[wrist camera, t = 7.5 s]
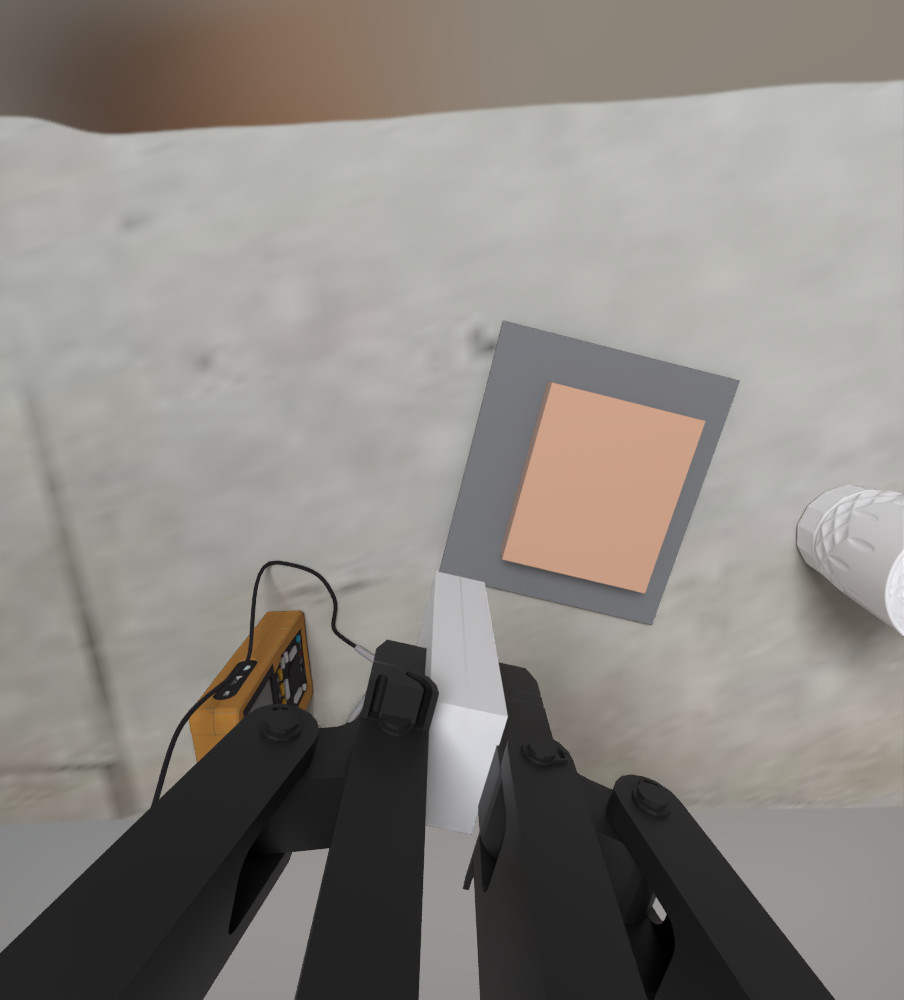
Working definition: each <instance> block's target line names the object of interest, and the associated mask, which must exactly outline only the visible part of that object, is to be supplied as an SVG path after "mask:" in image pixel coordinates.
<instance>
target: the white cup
mask: <svg viewBox="0 0 904 1000" xmlns="http://www.w3.org/2000/svg"><path fill="white" fill-rule="evenodd" d="M797 547H798V549H799V551H800V553H801V555H802V557H803V559H804V561H805V563H806V564H808V565H809V566H811V567H812V568H814V569H815V570H816V571H818V572H819V573H821V574H822V575H823V576H824V577H826V578H827V579H828V580H829V581H830V582H831V583H832V585H834V586H835V587H837V588H838V589H839V590H840V591H842V592H843V593H844V594H845V595H846V596H848V597H849V598H851V599H852V600H853V601H855V602H856V603H858V604H859V605H860V606H862V607H863V608H865V609H866V610H867V611H869V612H870V613H871V614H873V615H874V616H876V617H877V618H878V619H880V620H881V621H883V622H884V623H885V624H887V625H888V626H890V627H891V628H892V629H894V630H895V631H896V632H898V633H899V634H901V635H902V636H903V637H904V494H901V493H897V492H892V491H883V490H879V489H876V488H872V487H866V486H858V485H850V484H847V485H844V486H841V487H838V488H834V489H831V490H828V491H825V492H824V493H823V494H822V495H820V496H819V497H818V498H817V499H815V500H814V501H813V502H812V503H811V504H809V505H808V506H807V508H806V510H805V512H804V514H803V516H802V517H801V519H800V521H799V523H798V526H797Z"/></svg>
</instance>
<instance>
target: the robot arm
mask: <svg viewBox="0 0 904 1000" xmlns="http://www.w3.org/2000/svg"><path fill="white" fill-rule="evenodd" d="M540 695H541V694H540V691H539V687H538V684H537V681H536V680H535V679H534V678H533V676H532V675H531V674H530V673H529V672H528V671H527V669H526V668H521V667H517V666H512V665H508V664H503V663H499V662H498V657H497V651H496V645H495V639H494V633H493V628H492V622H491V616H490V610H489V604H488V598H487V593H486V587H485V582H481V581H477V580H472V579H468V578H464V577H459V576H455V575H450V574H446V573H442V572H437V571H436V572H435V575H434V579H433V583H432V587H431V591H430V595H429V599H428V603H427V607H426V611H425V614H424V618H423V622H422V626H421V630H420V634H419V638H418V642H417V646H414V645H409V644H405V643H400V642H395V641H391V640H386V641H385V642H384V643H383V644H381V645H380V646H379V647H378V648H377V649H376V653H375V657H374V661H373V666H372V670H371V674H370V678H369V682H368V687H367V691H366V695H365V699H364V703H363V708H362V711H361V713H360V715H359V716H358V717H357V718H356V719H355V720H353V721H351V722H350V723H348V724H345V725H342V726H338V727H330V728H318V724H317V721H316V720H315V719H314V718H313V716H312V715H311V714H310V713H308V712H307V711H305V710H303V709H301V708H299V707H295V706H291V705H287V704H270V705H266V706H262V707H258V708H256V709H255V710H253V711H252V712H250V713H249V714H247V715H246V716H245V717H244V718H243V719H242V720H241V721H240V722H239V723H238V724H237V725H236V726H235V727H234V728H233V729H232V730H231V731H230V732H229V733H227V734H226V735H225V736H224V737H223V738H222V739H221V740H220V741H219V742H218V743H217V744H216V745H215V746H214V747H213V748H212V749H211V750H210V751H209V752H208V753H207V754H206V755H205V756H204V757H203V758H202V759H201V760H200V761H199V762H197V763H196V764H195V765H194V766H193V767H192V768H191V769H190V770H189V771H188V772H187V773H186V774H185V775H184V776H183V777H182V778H181V779H180V780H179V781H178V782H177V783H176V784H175V785H174V786H173V787H172V788H171V789H170V790H169V791H167V792H166V793H165V794H164V795H163V796H162V797H161V798H160V799H159V800H158V801H157V802H156V803H155V804H154V805H153V806H152V807H151V808H150V809H149V810H148V811H147V812H146V813H145V814H144V815H143V816H142V817H141V818H140V819H139V820H137V821H136V823H134V824H133V825H132V826H131V827H130V828H129V829H128V830H127V831H126V832H125V833H124V834H123V835H122V836H121V837H120V838H119V839H118V840H117V841H116V842H115V843H114V844H113V845H112V846H111V847H110V848H109V849H108V850H106V851H105V853H103V854H102V855H101V856H100V857H99V858H98V859H97V860H96V861H95V862H94V863H93V864H92V865H91V866H90V867H89V868H88V869H87V870H86V871H85V872H84V873H83V874H82V875H81V876H80V877H79V878H78V879H76V880H75V881H74V882H73V883H72V884H71V885H70V886H69V887H68V888H67V889H66V890H65V891H64V892H63V893H62V894H61V895H60V896H59V897H58V898H57V899H56V900H55V901H54V902H53V903H52V904H51V905H50V906H49V907H48V908H46V909H45V910H44V911H43V912H42V914H40V915H39V916H38V917H37V918H36V919H35V920H34V921H33V922H32V923H31V924H30V925H29V926H28V927H27V928H26V929H25V930H24V931H23V932H22V933H21V934H20V935H19V936H18V937H17V938H15V939H14V940H13V941H12V942H11V943H10V944H9V945H8V946H7V947H6V948H5V949H4V950H3V951H2V952H1V953H0V1000H203V999H204V997H205V995H206V994H207V992H208V991H209V989H210V987H211V986H212V984H213V983H214V981H215V979H216V978H217V976H218V974H219V973H220V971H221V970H222V968H223V967H224V965H225V963H226V962H227V960H228V958H229V957H230V955H231V954H232V952H233V950H234V949H235V947H236V946H237V944H238V942H239V941H240V939H241V938H242V936H243V934H244V933H245V931H246V929H247V928H248V926H249V924H250V923H251V922H252V920H253V918H254V917H255V915H256V914H257V912H258V910H259V909H260V907H261V906H262V904H263V902H264V901H265V899H266V898H267V896H268V894H269V893H270V891H271V890H272V888H273V886H274V885H275V883H276V882H277V880H278V878H279V876H280V875H281V873H282V872H283V870H284V868H285V867H286V865H287V864H288V862H289V860H290V857H291V854H292V852H296V851H306V850H316V849H324V848H329V853H328V857H327V861H326V865H325V870H324V874H323V878H322V883H321V887H320V891H319V896H318V900H317V904H316V909H315V913H314V917H313V922H312V926H311V930H310V935H309V939H308V943H307V948H306V952H305V956H304V961H303V965H302V969H301V973H300V978H299V982H298V986H297V991H296V995H295V1000H418V998H419V973H420V948H421V922H422V896H423V871H424V844H425V826H430V827H435V828H440V829H445V830H451V831H455V832H461V833H466V834H472V831H473V828H474V825H475V822H476V818H477V815H478V813H479V827H480V832H479V835H478V838H477V842H476V845H475V848H474V851H473V854H472V858H471V861H470V864H469V867H468V870H467V874H466V877H465V881H464V886H463V889H466V890H469V887H470V884H471V881H472V878H474V887H475V905H476V926H477V946H478V964H479V983H480V1000H835V999H834V998H833V996H832V995H831V994H830V992H829V991H828V990H827V989H826V987H825V986H824V985H823V983H822V982H821V981H820V980H819V978H818V977H817V976H816V974H815V973H814V972H813V971H812V970H811V968H810V967H809V966H808V964H807V963H806V962H805V960H804V959H803V958H802V957H801V955H800V954H799V953H798V951H797V950H796V949H795V948H794V946H793V945H792V944H791V942H790V941H789V940H788V939H787V937H786V936H785V935H784V933H783V932H782V931H781V930H780V929H779V927H778V926H777V925H776V923H775V922H774V921H773V920H772V918H771V917H770V916H769V914H768V913H767V912H766V911H765V909H764V908H763V907H762V905H761V904H760V903H759V901H758V900H757V899H756V898H755V896H754V895H753V894H752V893H751V891H750V890H749V889H748V888H747V886H746V885H745V884H744V882H743V881H742V880H741V878H740V877H739V876H738V875H737V873H736V872H735V871H734V870H733V868H732V867H731V866H730V864H729V863H728V862H727V860H726V859H725V858H724V857H723V855H722V854H721V853H720V852H719V850H718V849H717V848H716V846H715V845H714V844H713V843H712V841H711V840H710V839H709V837H708V836H707V835H706V834H705V832H704V831H703V830H702V828H701V827H700V826H699V825H698V823H697V822H696V821H695V820H694V818H693V817H692V816H691V814H690V813H689V812H688V811H687V809H686V808H685V807H684V805H683V804H682V803H681V802H680V801H679V800H678V799H677V797H676V796H675V795H674V794H673V793H672V792H671V791H669V790H668V789H666V788H665V787H663V786H662V785H660V784H659V783H658V782H656V781H654V780H650V779H649V778H646V777H642V776H637V775H626V776H621V777H620V778H619V779H618V780H617V781H616V782H615V785H614V788H613V790H612V789H609V788H607V787H605V786H603V785H600V784H598V783H596V782H593V781H591V780H589V779H587V778H585V777H583V776H581V775H580V774H578V773H577V771H576V768H575V765H574V761H573V759H572V758H571V756H570V754H569V752H568V751H567V750H566V749H565V748H564V747H563V746H562V745H561V744H560V743H558V742H557V741H555V740H553V737H552V734H551V730H550V727H549V723H548V720H547V716H546V712H545V709H544V708H543V702H542V698H541V697H540ZM656 897H657V899H658V900H659V902H660V904H661V905H662V907H663V909H664V910H665V912H666V913H667V915H666V918H665V920H664V921H662V920H661V919H660V918H659V916H658V915H657V913H656V912H655V910H654V909H653V907H652V905H653V903H654V900H655V898H656Z"/></svg>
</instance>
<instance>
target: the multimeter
mask: <svg viewBox="0 0 904 1000" xmlns="http://www.w3.org/2000/svg"><path fill="white" fill-rule="evenodd" d="M273 564H280V565H286V566H291V567H295V568H299V569H302V570H305V571H308V572H310V573H312V574H314V575H315V576H317V577H318V578H319V579H320V580H321V581H322V582H323V583H324V585H325V586H326V588H327V589H328V591H329V593H330V595H331V597H332V599H333V604H334V611H333V617H332V624H331V626H332V630H333V632H334V633H335V634H336V635H337V636H338V637H339V638H340V639H342V640H343V641H344V642H346V643H347V644H349V645H350V646H352V647H353V648H354V649H355V650H356V651H357V652H358V653H359V654H361V655H362V656H364V657H365V658H367V659H368V660H370V661H371V662H373V661H374V657H375V656H374V655H373V654H371V653H370V652H368V651H367V650H365V649H364V648H362V647H360V646H358V645H355V644H354V643H352V642H350V641H349V640H348V639H346V638H345V637H344V636H342V635H341V634H340V633H339V632H338V631H337V630H336V628H335V618H336V612H337V602H336V598H335V595H334V593H333V591H332V589H331V588H330V586H329V584H328V583H327V581H326V580H325V579H324V578H323V577H322V576H321V575H320V574H319V573H317V572H316V571H314V570H312V569H310V568H307V567H305V566H301V565H298V564H294V563H289V562H283V561H270V562H268V563H266V564H265V565H264V566H262V568H261V570H260V572H259V573H258V576H257V579H256V582H255V586H254V592H253V598H252V608H251V621H250V635H249V636H248V637H247V638H246V640H245V641H244V642H243V643H242V645H241V646H240V647H239V648H238V650H237V651H236V652H235V653H234V655H233V656H232V657H231V659H230V660H229V661H228V663H227V664H226V665H225V666H224V668H223V669H222V670H221V672H220V673H219V674H218V676H217V677H216V678H215V679H214V681H213V682H212V683H211V685H210V686H209V687H208V689H207V690H206V691H205V692H204V694H203V695H202V696H201V698H200V699H199V700H198V702H197V703H196V704H195V705H194V706H193V707H192V708H191V709H190V710H189V711H188V713H187V714H186V715H185V716H184V718H183V719H182V720H181V722H180V724H179V725H178V727H177V729H176V731H175V733H174V735H173V737H172V739H171V742H170V745H169V748H168V750H167V753H166V756H165V760H164V763H163V766H162V770H161V773H160V777H159V780H158V784H157V788H156V791H155V795H154V798H153V802H152V805H151V807H152V806H153V805H154V804H155V803H156V802H157V801H158V800H159V798H160V794H161V790H162V787H163V783H164V779H165V776H166V772H167V768H168V765H169V761H170V758H171V755H172V751H173V749H174V746H175V743H176V741H177V738H178V736H179V734H180V732H181V730H182V728H183V727H184V725H185V723H186V722H187V721H188V719H189V724H190V731H191V734H192V738H193V744H194V749H195V755H196V760H197V762H199V761H200V760H201V759H202V758H203V757H204V756H205V755H206V754H207V753H208V752H209V751H210V750H211V749H212V748H213V747H214V746H215V745H216V744H217V743H218V742H219V741H220V740H221V739H222V738H223V737H224V736H225V735H226V734H227V733H229V732H230V731H231V730H232V729H233V728H234V727H235V726H236V725H237V724H238V723H239V722H240V721H241V720H242V719H243V718H244V717H245V716H246V715H247V714H249V713H250V712H252V711H253V710H255V709H256V708H258V707H262V706H266V705H270V704H287V705H291V706H295V707H299V708H301V709H303V710H306V708H307V706H308V703H309V701H310V699H311V697H312V693H313V688H312V680H311V675H310V667H309V658H308V650H307V642H306V634H305V626H304V624H305V621H304V615H303V613H302V612H301V611H277V612H267V613H266V614H265V615H264V617H263V618H262V619H261V621H260V622H259V623H258V624H257V626H256V627H255V628H254V620H255V606H256V596H257V589H258V584H259V581H260V577H261V575H262V573H263V571H264V570H265V568H267V567H268V566H269V565H273ZM364 699H365V695H364V696H363V699H362V700H361V701H360V703H359V704H358V706H357V707H356V708H355V710H354V711H353V712H352V714H351V715H350V717H349V719H348V722H347V723H346V724H348V723H350V722H351V721H353V720H355V719H356V717H357V716H358V714H359V713H360V712H361V710H362V708H363V703H364Z"/></svg>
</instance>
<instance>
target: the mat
mask: <svg viewBox="0 0 904 1000" xmlns="http://www.w3.org/2000/svg"><path fill="white" fill-rule="evenodd" d="M547 381H549V382H553V383H557V384H561V385H565V386H569V387H573V388H577V389H581V390H585V391H589V392H593V393H597V394H601V395H605V396H609V397H613V398H617V399H621V400H625V401H629V402H633V403H637V404H641V405H645V406H649V407H653V408H657V409H661V410H665V411H669V412H673V413H677V414H681V415H685V416H689V417H693V418H696V419H700V420H703V421H706V422H705V424H704V427H703V430H702V433H701V436H700V439H699V441H698V444H697V447H696V450H695V453H694V456H693V458H692V461H691V464H690V467H689V470H688V473H687V476H686V478H685V481H684V484H683V487H682V490H681V493H680V495H679V498H678V501H677V504H676V507H675V510H674V512H673V515H672V518H671V521H670V524H669V527H668V529H667V532H666V535H665V538H664V541H663V544H662V547H661V549H660V552H659V555H658V558H657V561H656V564H655V566H654V569H653V572H652V575H651V578H650V581H649V583H648V586H647V589H646V592H645V593H641V592H637V591H633V590H628V589H624V588H620V587H616V586H612V585H607V584H603V583H599V582H595V581H591V580H586V579H582V578H578V577H574V576H570V575H565V574H561V573H557V572H553V571H549V570H544V569H540V568H536V567H532V566H528V565H523V564H519V563H515V562H511V561H507V560H502V556H501V550H500V549H501V546H502V542H503V539H504V535H505V531H506V528H507V524H508V521H509V517H510V514H511V510H512V506H513V503H514V499H515V496H516V492H517V489H518V485H519V481H520V478H521V474H522V471H523V467H524V463H525V460H526V456H527V453H528V449H529V446H530V442H531V438H532V435H533V431H534V428H535V424H536V420H537V417H538V413H539V410H540V406H541V403H542V399H543V395H544V392H545V388H546V385H547ZM739 382H740V381H739V380H735V379H731V378H727V377H723V376H719V375H715V374H711V373H707V372H703V371H699V370H696V369H692V368H688V367H684V366H680V365H676V364H672V363H668V362H664V361H660V360H656V359H652V358H648V357H645V356H641V355H637V354H633V353H629V352H625V351H621V350H617V349H613V348H609V347H605V346H601V345H597V344H593V343H590V342H586V341H582V340H578V339H574V338H570V337H566V336H562V335H558V334H554V333H550V332H546V331H542V330H538V329H535V328H531V327H527V326H523V325H519V324H515V323H511V322H507V321H503V323H502V327H501V330H500V334H499V338H498V342H497V346H496V350H495V354H494V358H493V362H492V366H491V370H490V374H489V378H488V382H487V386H486V390H485V393H484V397H483V401H482V405H481V409H480V413H479V417H478V421H477V425H476V429H475V433H474V437H473V441H472V445H471V449H470V452H469V456H468V460H467V464H466V468H465V472H464V476H463V480H462V484H461V488H460V492H459V496H458V500H457V504H456V508H455V512H454V515H453V519H452V523H451V527H450V531H449V535H448V539H447V543H446V547H445V551H444V555H443V559H442V563H441V567H440V571H439V572H442V573H446V574H450V575H455V576H459V577H464V578H468V579H472V580H477V581H481V582H485V586H489V587H494V588H498V589H502V590H506V591H510V592H515V593H519V594H523V595H527V596H532V597H536V598H540V599H544V600H549V601H553V602H557V603H561V604H566V605H570V606H574V607H578V608H583V609H587V610H591V611H595V612H599V613H604V614H608V615H612V616H616V617H621V618H625V619H629V620H633V621H638V622H642V623H646V624H650V625H652V623H653V620H654V617H655V615H656V612H657V609H658V606H659V604H660V601H661V598H662V595H663V592H664V590H665V587H666V584H667V581H668V579H669V576H670V573H671V570H672V567H673V565H674V562H675V559H676V556H677V554H678V551H679V548H680V545H681V542H682V540H683V537H684V534H685V531H686V529H687V526H688V523H689V520H690V518H691V515H692V512H693V509H694V506H695V504H696V501H697V498H698V495H699V493H700V490H701V487H702V484H703V481H704V479H705V476H706V473H707V470H708V468H709V465H710V462H711V459H712V457H713V454H714V451H715V448H716V445H717V443H718V440H719V437H720V434H721V432H722V429H723V426H724V423H725V420H726V418H727V415H728V412H729V409H730V407H731V404H732V401H733V398H734V396H735V393H736V390H737V387H738V384H739Z"/></svg>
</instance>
